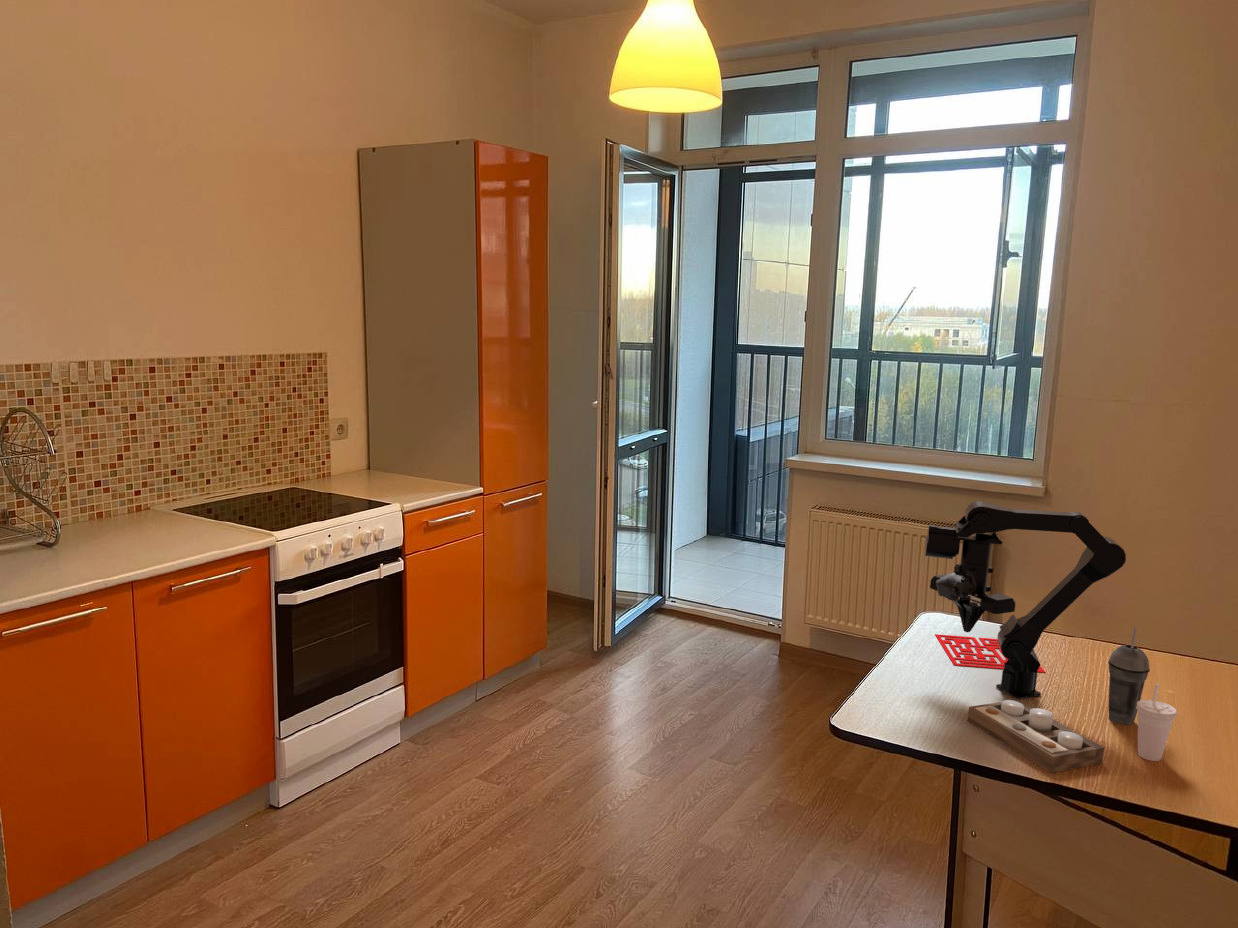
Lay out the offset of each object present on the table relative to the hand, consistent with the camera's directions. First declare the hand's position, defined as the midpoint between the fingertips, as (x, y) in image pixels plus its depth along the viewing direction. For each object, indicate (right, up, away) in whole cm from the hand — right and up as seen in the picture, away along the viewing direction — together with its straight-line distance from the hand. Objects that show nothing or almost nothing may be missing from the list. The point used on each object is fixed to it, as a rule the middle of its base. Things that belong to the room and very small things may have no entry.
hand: (966, 631), depth 195 cm
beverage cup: (+26, -16, -13) cm, 33 cm away
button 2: (+7, -16, -30) cm, 35 cm away
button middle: (+5, -14, -24) cm, 28 cm away
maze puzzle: (+13, -10, +21) cm, 26 cm away
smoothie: (+23, -18, -28) cm, 40 cm away
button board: (+3, -16, -24) cm, 29 cm away
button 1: (+2, -14, -17) cm, 22 cm away
